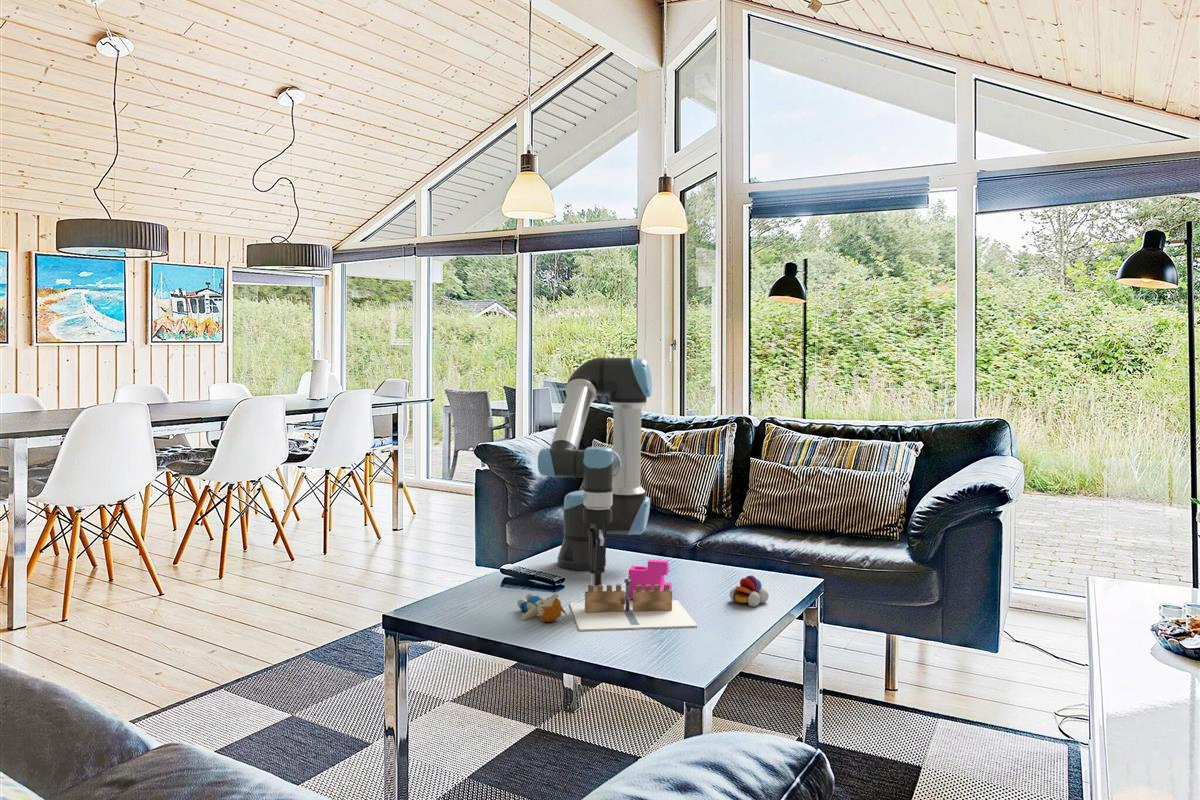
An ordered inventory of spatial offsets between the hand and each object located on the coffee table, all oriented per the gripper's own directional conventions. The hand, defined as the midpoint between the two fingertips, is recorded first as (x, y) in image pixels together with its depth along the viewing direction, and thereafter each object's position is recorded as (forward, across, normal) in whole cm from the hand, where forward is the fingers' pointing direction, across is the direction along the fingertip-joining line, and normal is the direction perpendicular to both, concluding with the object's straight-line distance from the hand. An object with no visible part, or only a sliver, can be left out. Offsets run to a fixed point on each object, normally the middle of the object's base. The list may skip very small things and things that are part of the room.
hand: (596, 596), depth 222 cm
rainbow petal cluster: (+3, +1, +42) cm, 42 cm away
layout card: (+3, +7, +8) cm, 11 cm away
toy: (+4, +4, -15) cm, 16 cm away
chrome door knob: (+3, +5, +7) cm, 9 cm away
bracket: (+3, -10, +17) cm, 20 cm away
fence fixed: (+3, +5, +14) cm, 15 cm away
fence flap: (+3, +4, +1) cm, 5 cm away
